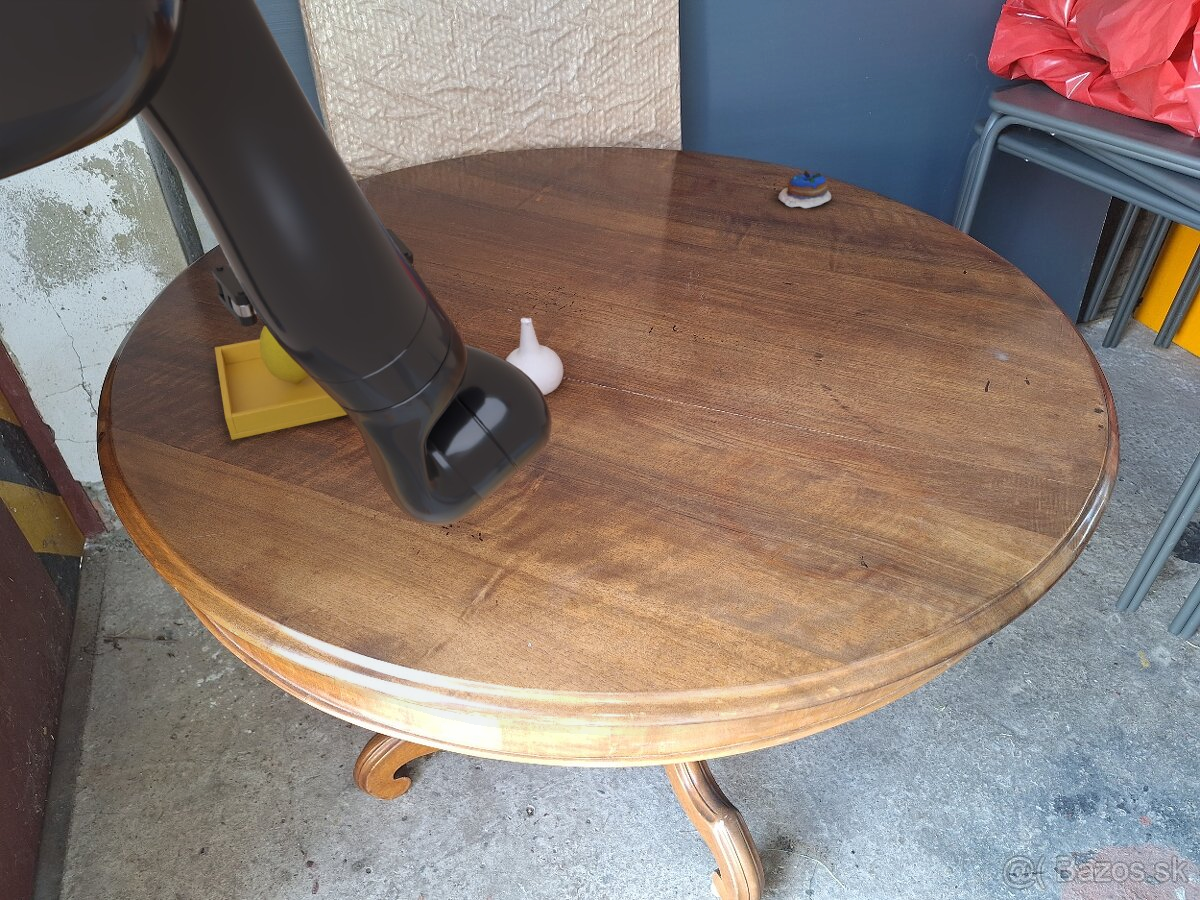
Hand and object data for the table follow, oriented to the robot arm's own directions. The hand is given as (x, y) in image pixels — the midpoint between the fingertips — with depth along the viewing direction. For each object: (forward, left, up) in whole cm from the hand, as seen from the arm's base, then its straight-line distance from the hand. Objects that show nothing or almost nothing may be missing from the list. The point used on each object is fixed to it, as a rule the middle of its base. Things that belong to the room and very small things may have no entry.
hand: (288, 240), depth 74 cm
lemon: (-2, +11, -20) cm, 23 cm away
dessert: (+76, +35, -21) cm, 86 cm away
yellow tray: (-2, +11, -21) cm, 23 cm away
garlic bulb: (+21, +2, -21) cm, 30 cm away
